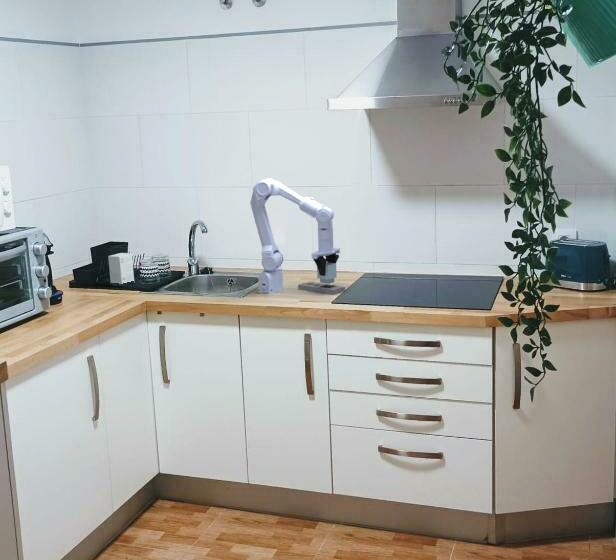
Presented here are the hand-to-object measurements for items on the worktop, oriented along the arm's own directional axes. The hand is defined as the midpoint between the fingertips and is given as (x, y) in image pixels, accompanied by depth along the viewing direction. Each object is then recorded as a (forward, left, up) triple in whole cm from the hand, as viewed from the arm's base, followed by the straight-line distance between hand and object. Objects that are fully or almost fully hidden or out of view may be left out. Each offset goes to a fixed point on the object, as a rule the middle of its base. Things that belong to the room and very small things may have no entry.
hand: (326, 274), depth 309 cm
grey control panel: (0, +3, -7) cm, 8 cm away
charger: (0, 0, -3) cm, 3 cm away
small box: (-35, +84, -8) cm, 91 cm away
